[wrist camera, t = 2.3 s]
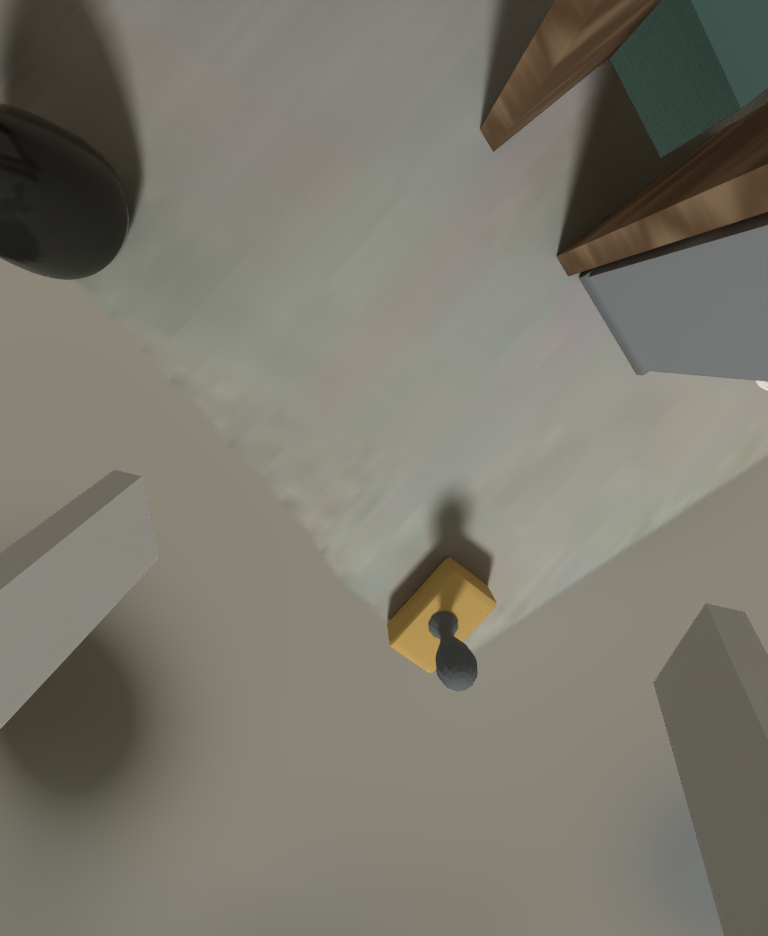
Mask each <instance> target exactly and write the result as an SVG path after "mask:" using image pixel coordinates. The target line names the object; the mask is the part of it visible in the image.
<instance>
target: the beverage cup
mask: <svg viewBox="0 0 768 936" xmlns="http://www.w3.org/2000/svg"><path fill="white" fill-rule="evenodd" d="M756 382H757V384H758V385H759V386H760V387H762V388H763V389H765V390H768V382H767V381H756Z"/></svg>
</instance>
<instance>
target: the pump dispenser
mask: <svg viewBox="0 0 768 936" xmlns="http://www.w3.org/2000/svg"><path fill="white" fill-rule="evenodd" d="M128 230H129V213H128V207H127V203H126V198H125V194H124V191H123V188H122V186H121V183H120V181H119V179H118V177H117V175H116V173H115V172H114V170H113V169H112V167H111V166H110V164H109V163H108V162H107V160H106V159H105V158H104V157H103V156H102V155H101V154H100V153H99V152H98V151H97V150H96V149H95V148H94V147H92V146H91V145H90V144H89V143H87V142H86V141H85V140H83V139H82V138H80V137H79V136H77V135H76V134H74V133H73V132H71V131H69V130H67V129H65V128H63V127H62V126H60V125H58V124H55V123H53V122H51V121H49V120H47V119H45V118H43V117H40V116H38V115H35V114H33V113H31V112H28V111H25V110H22V109H19V108H16V107H13V106H9V105H6V104H2V103H0V258H1V259H3V260H5V261H7V262H9V263H11V264H13V265H16V266H18V267H20V268H22V269H25V270H27V271H30V272H32V273H35V274H39V275H42V276H45V277H50V278H55V279H64V280H72V279H80V278H85V277H88V276H91V275H93V274H95V273H97V272H99V271H101V270H102V269H103V268H105V267H106V266H107V265H108V264H110V263H111V262H112V261H113V260H114V259H115V258H116V257H117V256H118V255H119V253H120V252H121V250H122V248H123V246H124V244H125V242H126V239H127V235H128Z"/></svg>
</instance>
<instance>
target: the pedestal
mask: <svg viewBox="0 0 768 936" xmlns="http://www.w3.org/2000/svg"><path fill="white" fill-rule="evenodd" d="M579 279H580V280H581V282H582V284H583V285H584V287H585V289H586V290H587V292H588V294H589V295H590V297H591V299H592V300H593V302H594V304H595V306H596V307H597V309H598V311H599V312H600V314H601V316H602V317H603V319H604V321H605V322H606V324H607V326H608V327H609V329H610V331H611V332H612V334H613V336H614V337H615V339H616V341H617V342H618V344H619V346H620V347H621V349H622V351H623V352H624V354H625V356H626V357H627V359H628V361H629V363H630V364H631V366H632V368H633V369H634V371H635V373H636V374H637V375H644V374H646V373H647V372H648V371H654V372H665V373H676V374H688V375H699V376H710V377H722V378H733V379H745V380H756V381H767V382H768V212H766V213H762V214H759V215H756V216H753V217H750V218H747V219H744V220H741V221H738V222H735V223H731V224H728V225H725V226H722V227H719V228H716V229H713V230H710V231H707V232H704V233H701V234H697V235H694V236H691V237H688V238H685V239H682V240H679V241H676V242H673V243H670V244H666V245H663V246H660V247H657V248H654V249H651V250H648V251H645V252H642V253H639V254H636V255H632V256H629V257H626V258H623V259H620V260H617V261H614V262H611V263H608V264H605V265H601V266H598V267H595V268H592V269H590V270H589V271H587V272H586V273H585V274H584V275H582V276H581V277H580V278H579Z"/></svg>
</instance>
